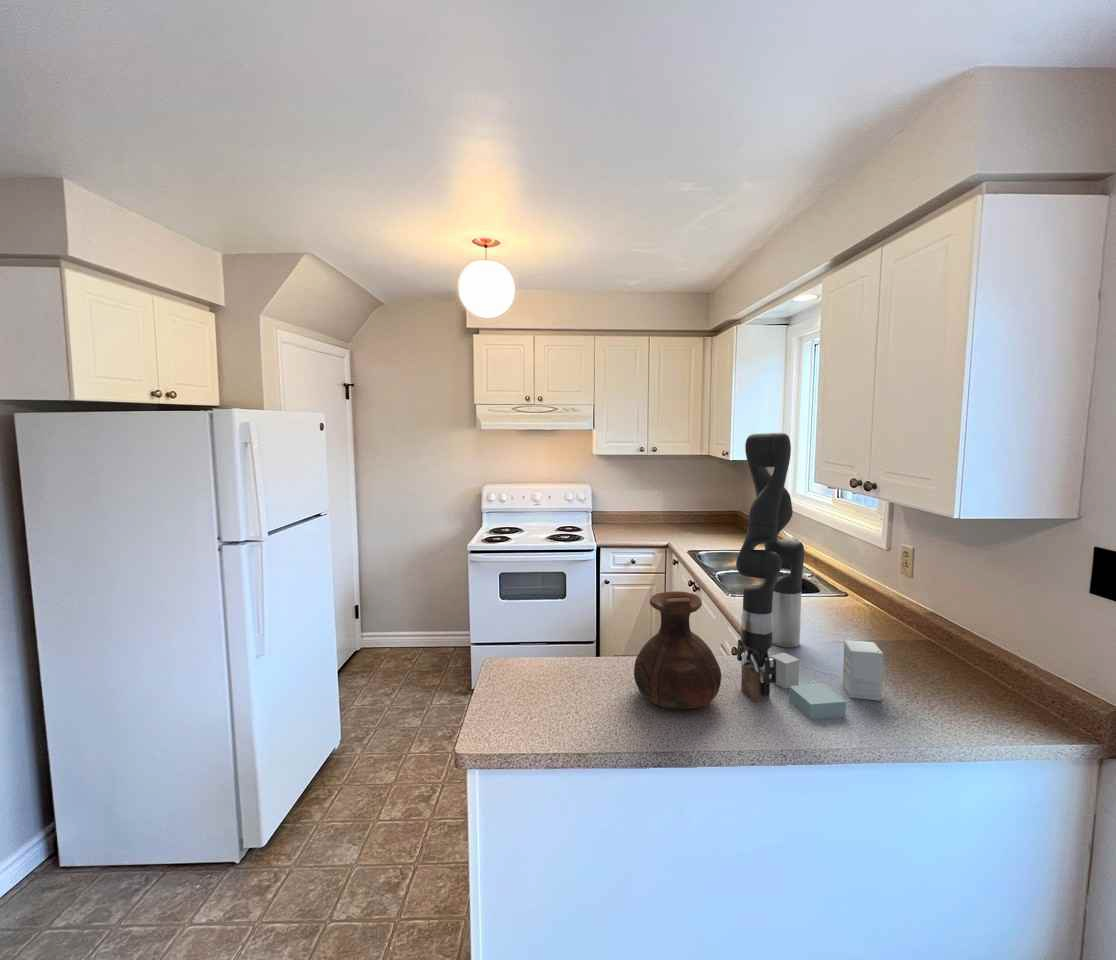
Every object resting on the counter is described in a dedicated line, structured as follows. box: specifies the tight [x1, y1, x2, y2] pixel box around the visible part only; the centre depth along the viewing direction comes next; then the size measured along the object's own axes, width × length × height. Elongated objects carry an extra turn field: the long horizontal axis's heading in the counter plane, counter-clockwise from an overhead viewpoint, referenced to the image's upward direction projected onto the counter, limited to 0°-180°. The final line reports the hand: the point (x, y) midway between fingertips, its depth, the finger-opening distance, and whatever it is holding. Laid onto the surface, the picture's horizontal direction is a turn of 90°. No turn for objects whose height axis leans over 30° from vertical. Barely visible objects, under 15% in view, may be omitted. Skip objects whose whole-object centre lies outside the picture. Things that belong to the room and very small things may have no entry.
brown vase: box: [633, 590, 722, 710], centre depth 133 cm, size 22×22×30 cm
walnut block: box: [740, 664, 771, 701], centre depth 136 cm, size 5×5×7 cm
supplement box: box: [842, 639, 884, 702], centre depth 135 cm, size 7×7×13 cm
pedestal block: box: [788, 683, 847, 720], centre depth 129 cm, size 9×9×4 cm
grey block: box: [770, 652, 800, 689], centre depth 142 cm, size 5×5×7 cm
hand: (755, 687), depth 136 cm, fingers open, 8 cm apart
